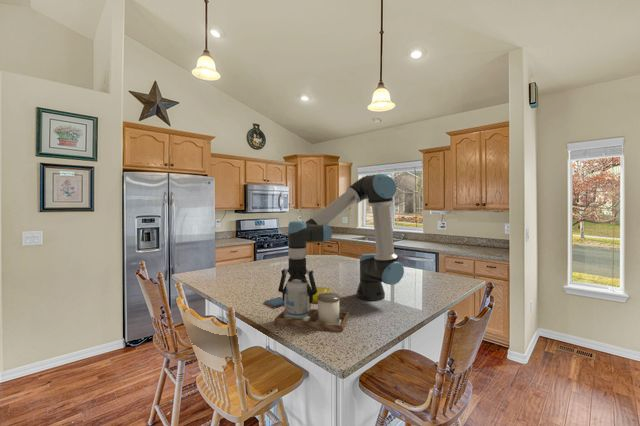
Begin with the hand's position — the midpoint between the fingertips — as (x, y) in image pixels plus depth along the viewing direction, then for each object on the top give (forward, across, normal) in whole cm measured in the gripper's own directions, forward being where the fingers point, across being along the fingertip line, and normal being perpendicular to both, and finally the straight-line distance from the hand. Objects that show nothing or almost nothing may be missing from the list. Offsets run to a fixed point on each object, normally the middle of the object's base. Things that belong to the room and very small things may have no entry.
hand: (297, 309), depth 129 cm
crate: (+5, -7, 0) cm, 9 cm away
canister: (+4, -14, 0) cm, 14 cm away
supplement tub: (+3, 0, 0) cm, 3 cm away
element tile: (+6, +1, -31) cm, 32 cm away
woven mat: (+6, +17, -18) cm, 25 cm away
